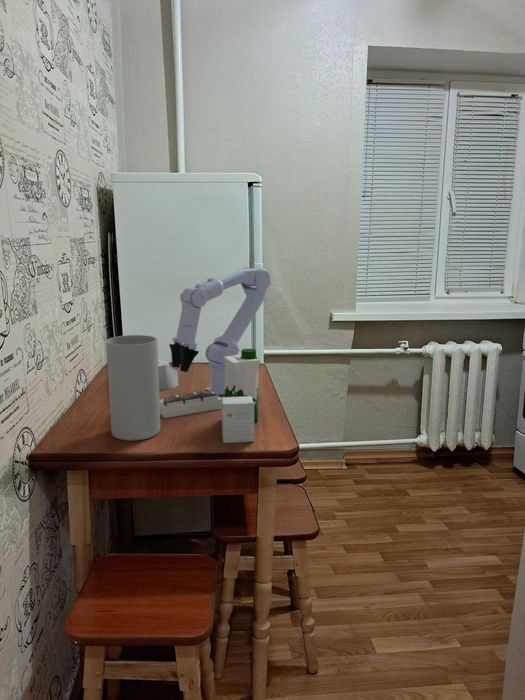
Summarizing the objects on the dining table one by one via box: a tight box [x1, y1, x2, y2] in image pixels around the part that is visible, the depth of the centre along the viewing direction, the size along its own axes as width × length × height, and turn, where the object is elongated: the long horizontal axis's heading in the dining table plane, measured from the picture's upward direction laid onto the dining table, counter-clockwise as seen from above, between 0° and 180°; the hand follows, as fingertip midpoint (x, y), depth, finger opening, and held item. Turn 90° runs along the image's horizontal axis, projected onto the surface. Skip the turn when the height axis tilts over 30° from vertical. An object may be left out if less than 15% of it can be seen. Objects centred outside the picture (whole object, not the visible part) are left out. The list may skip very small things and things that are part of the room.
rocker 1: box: [163, 393, 182, 405], centre depth 150 cm, size 4×3×2 cm, turn 119°
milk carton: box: [224, 348, 261, 423], centre depth 144 cm, size 9×9×20 cm
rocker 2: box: [182, 391, 200, 402], centre depth 152 cm, size 4×3×2 cm, turn 119°
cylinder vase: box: [105, 334, 161, 442], centre depth 134 cm, size 12×12×25 cm
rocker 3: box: [198, 390, 218, 398], centre depth 155 cm, size 4×3×2 cm, turn 119°
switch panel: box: [159, 395, 222, 419], centre depth 155 cm, size 22×8×4 cm, turn 119°
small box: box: [221, 396, 255, 444], centre depth 132 cm, size 8×6×10 cm
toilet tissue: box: [158, 359, 179, 392], centre depth 176 cm, size 9×13×9 cm
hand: (179, 369), depth 160 cm, fingers open, 7 cm apart
